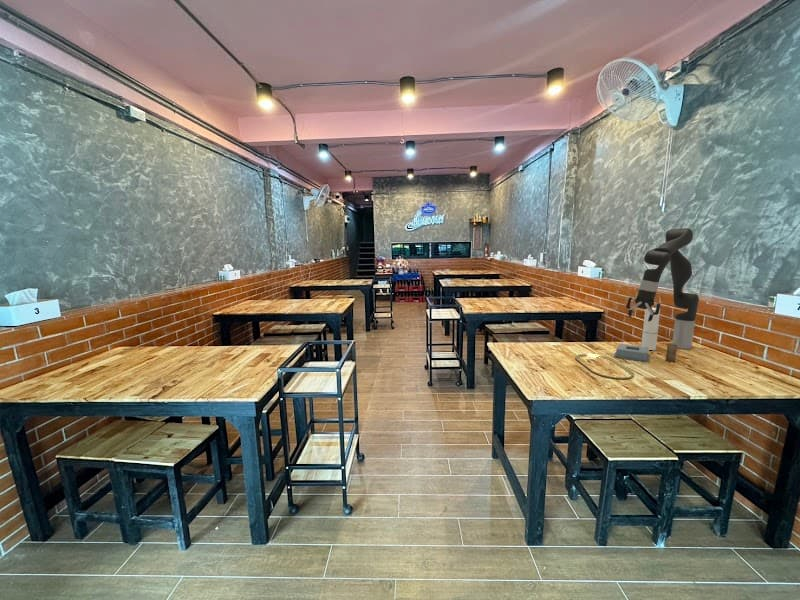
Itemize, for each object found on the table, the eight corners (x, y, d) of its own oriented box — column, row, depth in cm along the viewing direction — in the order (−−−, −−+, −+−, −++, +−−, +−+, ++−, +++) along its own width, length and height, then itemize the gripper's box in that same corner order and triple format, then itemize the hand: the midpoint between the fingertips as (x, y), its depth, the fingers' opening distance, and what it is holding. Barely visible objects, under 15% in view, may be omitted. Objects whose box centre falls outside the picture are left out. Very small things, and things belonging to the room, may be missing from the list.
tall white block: (655, 348, 203) (659, 308, 199) (656, 351, 197) (661, 310, 193) (640, 347, 207) (644, 307, 203) (641, 350, 201) (645, 309, 197)
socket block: (616, 350, 201) (617, 342, 200) (649, 355, 191) (650, 347, 190) (613, 357, 188) (614, 349, 188) (649, 363, 179) (649, 354, 178)
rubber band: (603, 356, 191) (604, 354, 191) (642, 380, 156) (643, 377, 156) (569, 356, 192) (569, 353, 192) (600, 380, 158) (601, 377, 158)
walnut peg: (665, 359, 184) (667, 342, 182) (674, 361, 181) (676, 344, 180) (665, 361, 181) (667, 344, 179) (675, 363, 178) (677, 345, 177)
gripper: (665, 292, 173) (656, 321, 177) (633, 286, 182) (625, 314, 186) (663, 293, 168) (654, 324, 172) (630, 287, 177) (622, 316, 181)
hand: (639, 319), depth 179 cm, fingers open, 8 cm apart
